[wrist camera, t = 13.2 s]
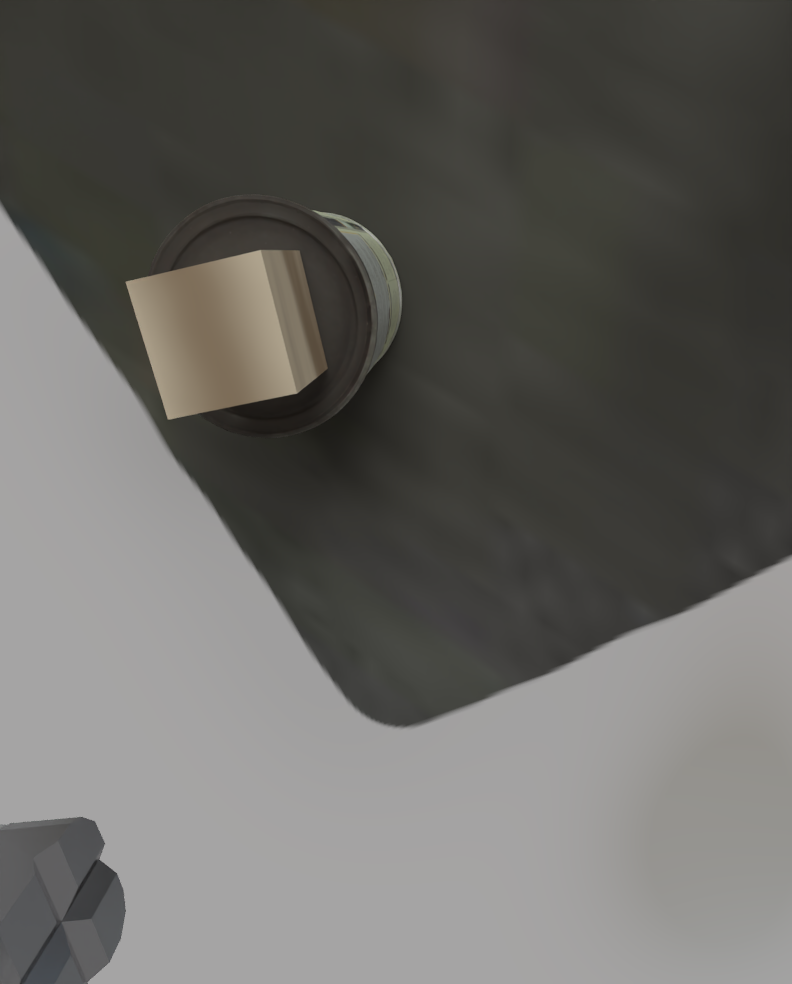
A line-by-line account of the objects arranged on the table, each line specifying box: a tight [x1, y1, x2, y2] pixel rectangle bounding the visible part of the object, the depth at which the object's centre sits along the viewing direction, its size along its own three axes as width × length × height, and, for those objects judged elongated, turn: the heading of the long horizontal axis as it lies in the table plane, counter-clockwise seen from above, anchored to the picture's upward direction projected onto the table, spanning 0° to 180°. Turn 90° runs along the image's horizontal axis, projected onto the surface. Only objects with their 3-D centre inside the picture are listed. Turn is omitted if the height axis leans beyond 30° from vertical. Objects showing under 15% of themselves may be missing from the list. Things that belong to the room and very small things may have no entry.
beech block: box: [126, 250, 328, 419], centre depth 29 cm, size 5×5×6 cm
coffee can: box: [148, 195, 402, 438], centre depth 39 cm, size 10×10×14 cm
